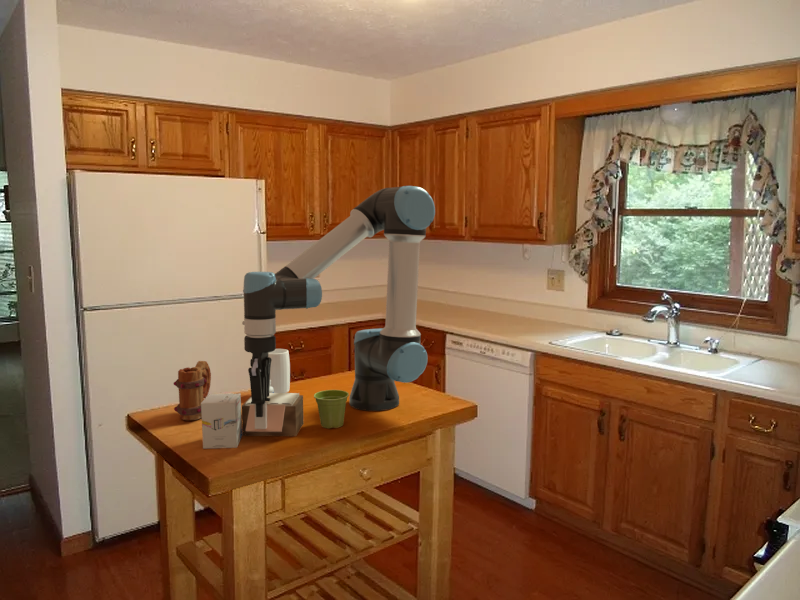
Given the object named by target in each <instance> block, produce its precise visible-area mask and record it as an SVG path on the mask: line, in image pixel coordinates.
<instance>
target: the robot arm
mask: <svg viewBox="0 0 800 600" xmlns="http://www.w3.org/2000/svg"><path fill="white" fill-rule="evenodd" d="M349 214H350V216H348V217H346V219H344V220H343V221H341V222H340V223H339V224H338V225H336V226H335V227H333V229H332V230H330V231H329V232H328V233H326V234H325V235H324V236H322V237H320V239H319V240H317V241H316V242H314V244H312V245H311V246H309V247H308V248H307V249H306V250H304V251H303V252H302V253H301V254H299V255H298V256H297V257H295V258H294V259H292V260H291V261H290V262H289V263H288V264H286V265H285V266H283V267H282V268H281V269H279V270H278V271H276V273H275V272H272V271H250V272H249V271H248V272H247V273H245V275H244V277H243V290H242V293H243V317H244V318H243V319H244V320H243V321H241V325H243V326H244V330H243V331H244V334H245V336H244V340H243V342H244V347H243V348H244V351H245V352H247V353H251V354H252V356H251V358H250V362H249V363H250V367H248V370H247V371H248V376H249V384H250V385H249V386H250V397H252V401H251V404H255V429H266V428H267V402H265V401H270V398H267V397H269V387H270V367H271V361H272V359H271V358H270V357H268V352H272V351H274V350H275V349H277V348H276V347H277V346H276V345H277V343H276V342H277V341H276V340H277V339H276V338H277V337H276V336H275V334H276V332H277V329H276V328H277V323H276V322H277V321H276V319H277V318H276V316H277V315H276V311H278V310H281V311H282V310H297V309H305V310H307V309H312V308H317V307H318V306H320V304H321V302H322V300H323V289H322V286H321V283H320V281H319V280H318V279H316V277H319V275H321V274H322V273H323V272H324V271H325V270H326V269H328V268H329V267H330V266H332V265H333V264H334V263H335V262H337V261H338V260H339V259H341V258H342V257H343V256H344V255H345V254H346V253H348V252H349V251H351V249H353V248H354V247H355V246H357V245H358V244H359V243H361V242H362V241H363V240H364V239H366V238H372V237H375V235H376V234H378V233H379V232H382V231H383V236H384V237H385V238H386V239H387V240H388V259H387V280H386V281H387V282H386V283H387V284H386V302H385V303H386V304H385V325H384V327H383V328H381V327H379V328H370V329H369V328H368V329H362V330H357V331H356V332H355V334H354V340H353V345H354V382H353V385H352V387H351V391H350V393H349V397H348V399H349V406H350V407H351V408H353V409H356V410H360V411H368V412H369V411H370V412H374V411H375V412H380V411H387V410H392V409H395V408H396V407H398V406H399V404H400V395H399V391H398V389H397V386H396V382H399V383H404V384H405V383H412V382H414V381H416V380H417V379H418V378H419V377H420V376H421V375H422V374H423V373H424V371H425V370H426V367H427V365H428V360H429V359H428V353H427V349H425V346H423V345H422V344H421V338H422V337H421V335H422V334H421V332H420V331H419V330H418V328H417V327H416V326H417V309H418V291H419V290H418V288H419V270H420V269H419V266H420V250H421V249H420V247H421V246H420V245H421V242H422V241H423V240H424V239H425V238H426V234H427V228H428V227H430V225H431V223H433V221H434V219H435V215H436V207H435V202H434V200H433V198H432V196H431V195H430V194H429V192H428V191H427V190H426V189H424V188H422V187H420V186H415V185H414V186H413V185H403V186H395V187H394V186H393V187H385V188H382V189H380V190H379V189H378V190H377V191H375V192H374V193H373V194H371V195H370V196H368V197H367V198H365V199H364V200H363V201H362V202H360V203H359V204H358V205H356V206H355V207H354V208H353V209H352V210H350V213H349Z"/></svg>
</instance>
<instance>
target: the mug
mask: <svg viewBox="0 0 800 600" xmlns="http://www.w3.org/2000/svg"><path fill="white" fill-rule="evenodd" d="M211 380H212V373H211V369H210V366H209V363H208V361H205V360H198V361H197V362H196V364H195V366H192V367H183V368H181V369H179V370H178V371H177V379H176V380H175V381H174V382H173V386H175V387H176V388H178V403H177V405H176V406H175V407H174V408H173V409H174V411H175V412H176V413H177V414H178V415H179V418H180V419H181V420H183V421H197V420H200V419H202V413H201V403H202V401H203V400H204V399H205V398H206V397H207V396H208V395H209V392H210V388H211Z"/></svg>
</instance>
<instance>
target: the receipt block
mask: <svg viewBox="0 0 800 600" xmlns="http://www.w3.org/2000/svg"><path fill="white" fill-rule="evenodd" d="M267 398H270V401H265V402H267V405H285V412H284V419H283V426H282V432H246V431H245V430H246V425H247V419H248V414H249V409H250V405H255V404H251V401H252V397H251V396H250V397H249V398H248V399H246V401H245V402H244V403H243V404H241V415H242V437H243V436H245V437H246V436H249V437H250V436H251V437H254V436H255V437H258V436H259V437H297V435H298V434H299V432H300V430H302V427H303V426H304V423H305V421H304V418H305V417H304V395H302V394H300V392H298V393H297V392H287V393H269V397H267Z"/></svg>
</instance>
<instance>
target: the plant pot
mask: <svg viewBox="0 0 800 600" xmlns="http://www.w3.org/2000/svg"><path fill="white" fill-rule="evenodd" d="M349 397H350V393H349V392H348V391H346V390H342V389H326V390H320V391H318V392H316V393H314V395H313V398H314V399H315V402H316V404H317V409H318V410H317V411H318V416H319V420H320V422H319V423H320V426H321V428H324V429H332V428H335V429H339V428H340V427H343V425H344V423H345V422H344V421H345V413H346V405H347V401H348V398H349Z"/></svg>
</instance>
